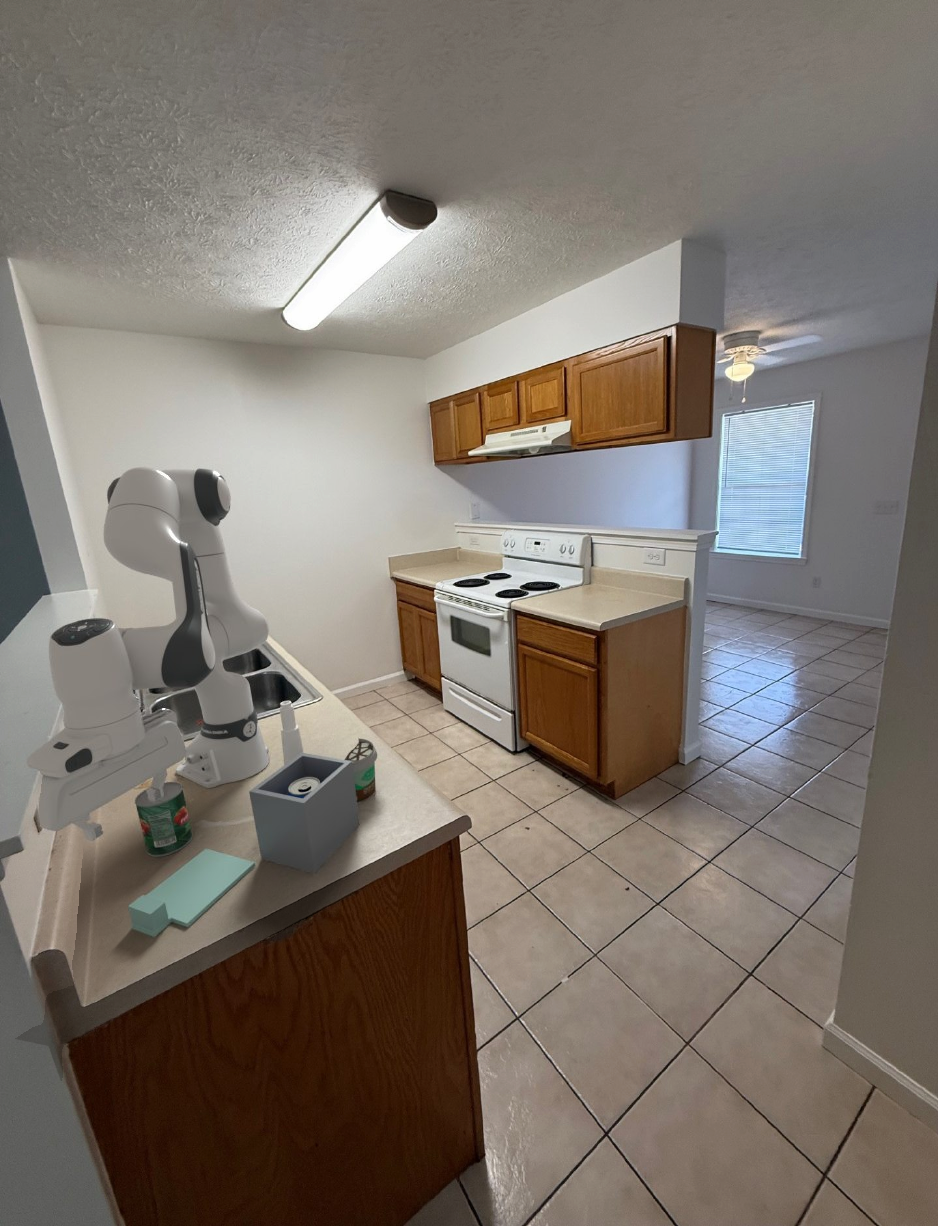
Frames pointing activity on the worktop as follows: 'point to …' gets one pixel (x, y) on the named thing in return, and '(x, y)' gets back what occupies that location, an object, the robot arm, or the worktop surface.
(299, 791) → the beverage can
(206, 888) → the lid
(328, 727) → the worktop surface
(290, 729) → the cosmetic bottle
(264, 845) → the tub
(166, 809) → the canned tomato
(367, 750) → the food container
